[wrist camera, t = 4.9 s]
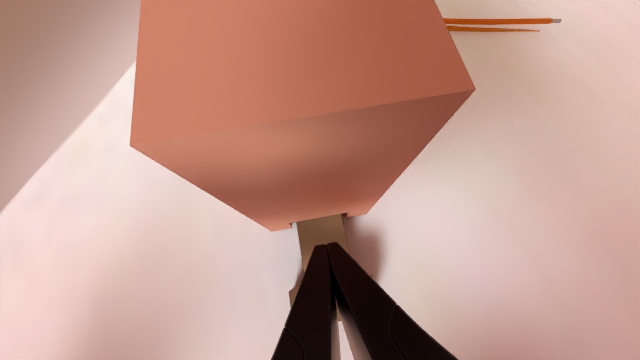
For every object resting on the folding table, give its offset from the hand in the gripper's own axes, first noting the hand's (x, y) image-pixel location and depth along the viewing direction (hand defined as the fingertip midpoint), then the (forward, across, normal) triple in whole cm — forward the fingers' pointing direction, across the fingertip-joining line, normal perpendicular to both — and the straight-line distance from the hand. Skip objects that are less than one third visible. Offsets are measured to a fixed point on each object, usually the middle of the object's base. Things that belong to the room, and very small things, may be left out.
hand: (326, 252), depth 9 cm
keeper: (+10, 0, +3) cm, 10 cm away
